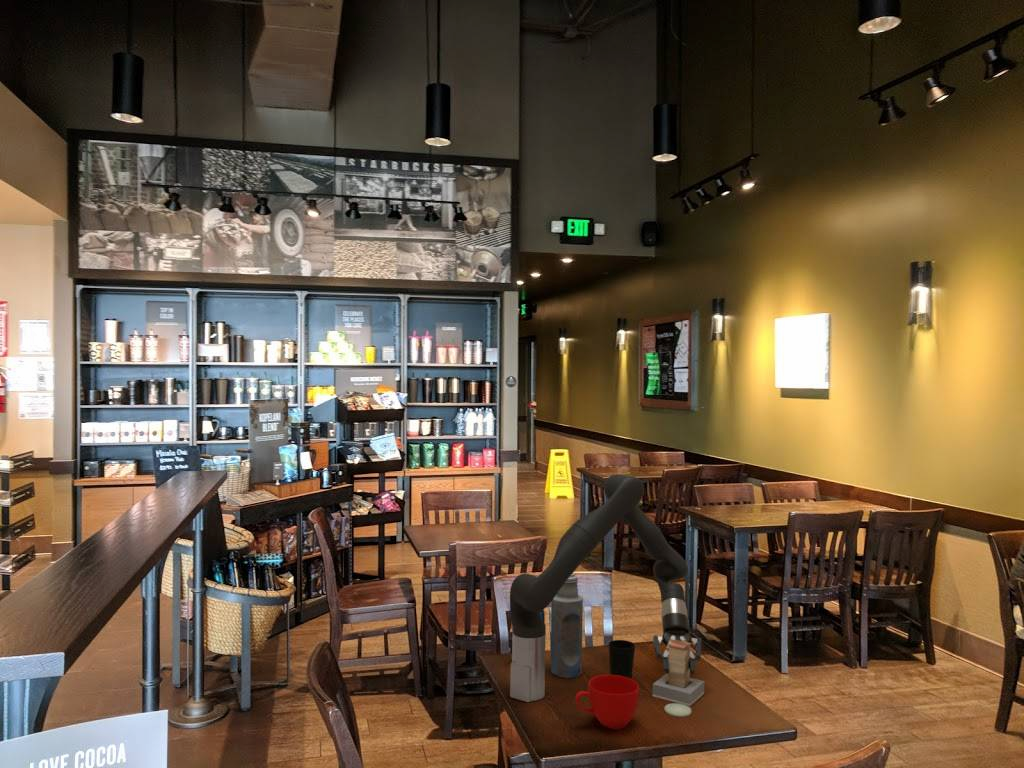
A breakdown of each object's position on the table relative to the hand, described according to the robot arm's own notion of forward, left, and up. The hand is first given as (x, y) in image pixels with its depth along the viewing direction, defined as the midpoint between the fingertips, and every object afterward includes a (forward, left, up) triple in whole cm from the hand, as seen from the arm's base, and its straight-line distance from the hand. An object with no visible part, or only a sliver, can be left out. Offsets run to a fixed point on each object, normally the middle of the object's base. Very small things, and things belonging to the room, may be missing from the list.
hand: (679, 672), depth 209 cm
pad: (-9, -3, -7) cm, 12 cm away
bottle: (-4, +35, -7) cm, 36 cm away
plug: (+1, +1, -6) cm, 6 cm away
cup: (-3, +17, -7) cm, 18 cm away
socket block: (+1, +1, -7) cm, 7 cm away
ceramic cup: (-28, +9, -7) cm, 30 cm away
